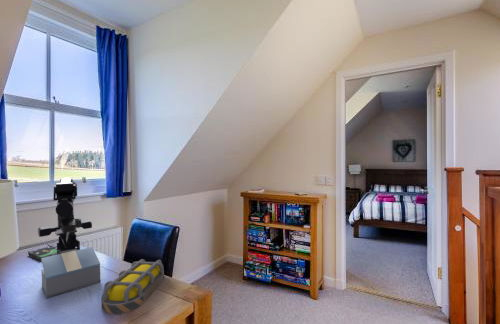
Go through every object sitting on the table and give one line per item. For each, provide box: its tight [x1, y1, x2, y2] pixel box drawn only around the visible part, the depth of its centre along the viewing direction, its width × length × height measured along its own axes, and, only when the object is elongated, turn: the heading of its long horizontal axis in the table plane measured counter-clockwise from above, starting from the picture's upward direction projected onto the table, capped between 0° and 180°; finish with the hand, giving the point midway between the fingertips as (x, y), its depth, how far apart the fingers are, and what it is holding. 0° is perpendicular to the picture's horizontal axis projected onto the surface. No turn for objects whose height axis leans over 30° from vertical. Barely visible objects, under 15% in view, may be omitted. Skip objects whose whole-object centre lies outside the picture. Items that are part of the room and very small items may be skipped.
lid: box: [41, 246, 101, 280], centre depth 108 cm, size 13×18×1 cm
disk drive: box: [27, 245, 57, 263], centre depth 140 cm, size 10×3×15 cm
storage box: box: [41, 265, 101, 299], centre depth 109 cm, size 13×18×7 cm
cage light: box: [100, 258, 165, 315], centre depth 104 cm, size 15×8×30 cm
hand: (66, 247), depth 115 cm, fingers closed
